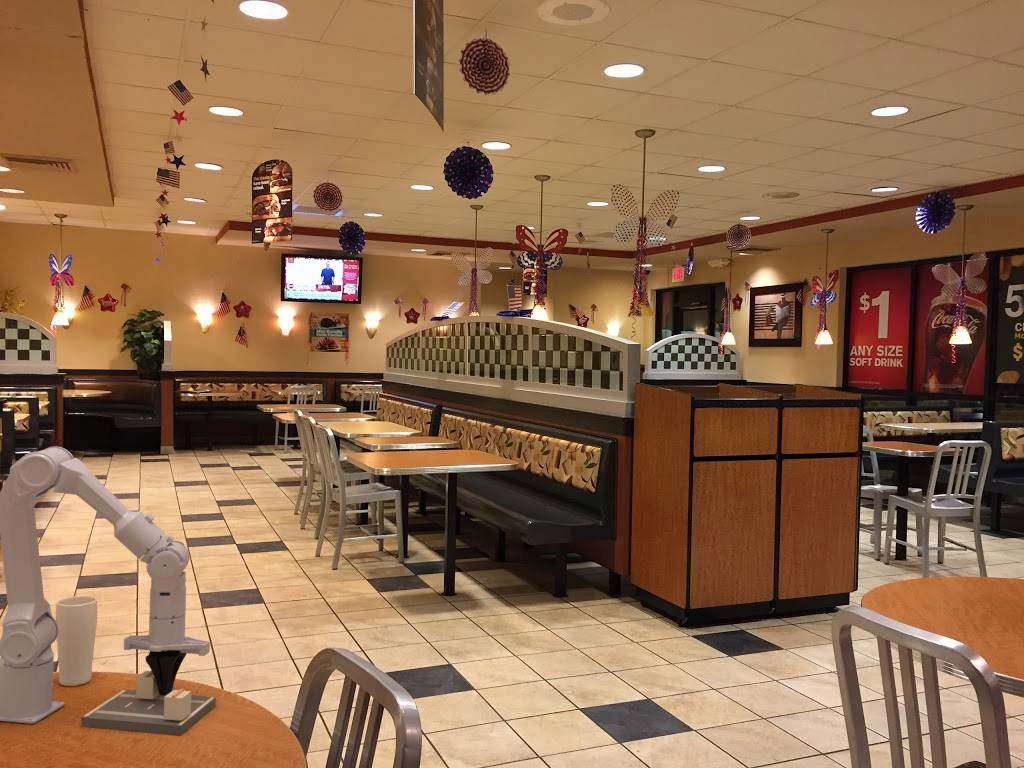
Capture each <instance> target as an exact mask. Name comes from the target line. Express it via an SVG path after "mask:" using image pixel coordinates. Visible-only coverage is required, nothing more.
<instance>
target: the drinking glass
mask: <svg viewBox="0 0 1024 768" xmlns="http://www.w3.org/2000/svg"><path fill="white" fill-rule="evenodd" d="M55 608H56V609H55V620H56V621H57V623H58V627H59V633H58V636H57V638H56V646H57V647H56V648H57V660H58V661H57V662H58V663H57V664H58V682H59V684H60V685H62V686H63V687H77V686H82V685H84V684H87V683H88V682H90V681H91V679H92V676H93V669H92V668H93V660H94V659H93V658H94V650H95V644H96V643H95V642H96V641H95V640H96V634H97V626H98V599H97V597H95V596H91V595H74V596H68V597H67V596H66V597H64V598H60V599H59V600H57V601H56V605H55Z"/></svg>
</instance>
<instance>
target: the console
mask: <svg viewBox="0 0 1024 768" xmlns="http://www.w3.org/2000/svg"><path fill="white" fill-rule="evenodd" d="M164 697H165V696H162V695H158V696H157V697H155V698H154V699H142V698H136V689H135V690H134V689H122V690H121V691H119V692H118V693H116V694H114V695H113V696H112V697H110V698H109V699H107V700H105V701H104V702H102V703H101V704H99V705H98V706H96V707H95V708H94V709H92V710H90V711H88V712H87V713H85V714H84V715H82V716H81V717H80V719H81V721H80V727H84V728H94V729H104V730H105V729H107V730H116V731H117V730H118V731H128V732H141V733H150V734H161V735H172V736H173V735H174V736H182V735H183V734H184V733H186V732H187V731H188V730H189V729H190V728H191V727H193V726H194V725H195V724H196V723H197V722H199V721H200V720H201V719H203V717H204V716H206V715H207V714H208V713H209V712H210V711H211V710H212V709H214V708H215V707H216V706H217V697H216V696H210V695H209V696H208V695H196V694H195V695H194V694H191V713H190V714H189V715H188V716H187V717H185V718H184V719H183V720H182V721H179V720H168V719H164Z"/></svg>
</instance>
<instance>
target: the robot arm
mask: <svg viewBox="0 0 1024 768" xmlns="http://www.w3.org/2000/svg"><path fill="white" fill-rule="evenodd" d="M53 488H54V489H53ZM51 489H53V493H56V494H59V493H60V494H67V495H75V496H76V497H78V498H80V500H82V501H83V502H85V503H86V504H87V506H89V507H90V508H92V509H93V510H94V511H96V512H97V513H98V514H99V515H101V516H102V517H103V518H104V519H105V520H106V521H108V523H110V524H111V525H112V526H113V536H114V538H115V539H116V540H118V541H119V543H121V544H122V545H123V546H124V547H125V548H126V549H128V551H130V552H131V554H133V555H134V556H135V557H136V558H137V559H138V560H140V562H142V563H145V564H146V569H145V570H146V572H147V573H148V575H149V577H150V589H149V617H148V619H149V621H148V622H149V624H148V625H149V627H148V632H149V633H148V635H146V634H145V635H142V634H141V635H133V634H132V635H129V636H127V637H125V638H124V639H123V650H124V651H130V650H141V651H143V650H144V651H149V652H148V654H147V655H146V656H145V662H146V664H147V665H148V667H149V669H150V671H151V670H152V672H153V675H154V677H155V680H156V684H157V687H158V692H159V695H162V696H166V695H168V694H169V693H170V692H172V691H173V690H174V685H175V680H176V677H177V674H178V672H179V670H180V667H181V665H182V664H183V661H184V659H185V657H186V656H187V654H192V655H193V654H194V655H198V656H199V657H205V656H206V655H208V654H209V653H210V650H211V649H210V648H211V647H210V646H211V641H208V640H201V639H197V638H194V637H190V636H187V635H186V610H187V609H186V607H187V585H186V581H187V577H186V574H187V573H186V572H187V571H184V570H185V569H186V568H187V567H188V564H189V561H190V553H189V550H188V548H187V547H186V546H185V544H184V542H183V541H181V540H180V541H179V540H175V537H174V536H173V535H172V534H169V535H167V534H166V533H165V532H164V530H162V529H161V528H160V527H159V526H158V525H156V523H154V522H153V521H154V520H155V517H154V516H152V515H151V514H150V513H147V514H144V512H143V511H131V510H129V509H128V508H127V506H126V505H124V504H123V503H122V502H121V501H120V500H119V499H118V498H117V497H116V496H115V495H114V494H113V493H112V491H110V490H109V489H108V488H107V487H106V486H105V484H103V483H102V482H101V480H100V479H98V478H97V477H96V475H94V474H93V472H91V470H90V469H89V468H88V467H87V466H86V465H85V464H84V462H83V461H81V460H80V459H79V458H77V457H74V456H73V454H72V453H71V452H70V451H69V450H68V449H66V448H64V447H61V446H49V447H47V448H44V449H42V450H39V451H32V452H29V453H27V454H25V455H23V456H22V457H21V458H19V460H17V461H16V462H15V463H14V464H12V465H11V467H10V468H9V474H8V477H7V478H6V480H5V482H4V485H3V486H2V488H1V490H0V545H1V553H2V554H1V555H2V565H3V573H4V580H5V581H4V582H5V583H4V584H5V590H6V598H7V609H6V611H5V615H4V618H3V620H2V625H1V627H2V633H1V638H0V722H11V723H21V724H23V723H24V724H36V723H38V722H39V721H41V720H42V719H44V718H46V717H47V716H49V715H51V714H52V713H54V712H55V711H57V710H58V709H59V710H60V708H62V707H64V706H65V702H64V701H58V700H57V701H55V700H54V659H55V658H54V655H55V653H54V652H53V650H52V644H53V643H55V641H57V636H58V633H59V627H58V623H57V621H56V617H55V618H54V616H53V614H52V609H51V604H50V603H49V601H48V600H47V599H46V598H45V595H44V587H43V578H42V577H43V576H42V575H43V574H42V567H41V560H40V559H41V558H40V549H39V539H38V531H37V522H36V521H37V519H36V512H35V505H36V504H37V503H39V501H40V500H41V499H42V498H43V497H44V496H45V495H46V494H47V493H48V492H49V491H50V490H51Z"/></svg>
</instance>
